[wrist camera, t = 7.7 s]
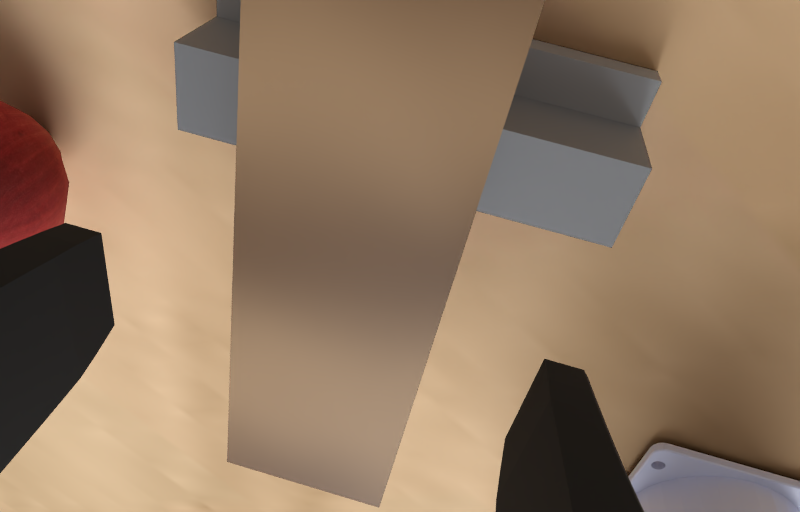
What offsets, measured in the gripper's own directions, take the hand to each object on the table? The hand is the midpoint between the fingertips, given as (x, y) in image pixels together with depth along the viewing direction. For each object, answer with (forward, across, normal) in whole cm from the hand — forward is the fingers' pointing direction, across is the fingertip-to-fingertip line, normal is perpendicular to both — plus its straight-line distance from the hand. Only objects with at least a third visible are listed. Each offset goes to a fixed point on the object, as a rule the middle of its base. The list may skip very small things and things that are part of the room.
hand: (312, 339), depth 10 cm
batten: (+7, 0, 0) cm, 7 cm away
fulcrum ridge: (+10, 0, 0) cm, 10 cm away
